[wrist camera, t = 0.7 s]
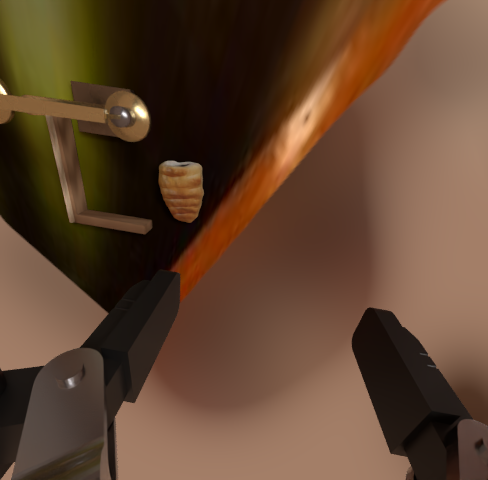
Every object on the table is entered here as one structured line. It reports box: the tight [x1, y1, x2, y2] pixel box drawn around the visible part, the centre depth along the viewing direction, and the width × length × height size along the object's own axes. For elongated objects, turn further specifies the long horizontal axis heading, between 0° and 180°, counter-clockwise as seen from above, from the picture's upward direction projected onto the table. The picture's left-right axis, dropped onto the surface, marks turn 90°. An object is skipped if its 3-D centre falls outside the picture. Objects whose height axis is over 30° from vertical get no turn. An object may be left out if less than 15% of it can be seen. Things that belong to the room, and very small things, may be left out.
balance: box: [0, 79, 151, 142], centre depth 26 cm, size 19×6×14 cm, turn 82°
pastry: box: [159, 161, 204, 223], centre depth 35 cm, size 9×7×4 cm
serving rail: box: [46, 115, 152, 234], centre depth 35 cm, size 16×13×3 cm
